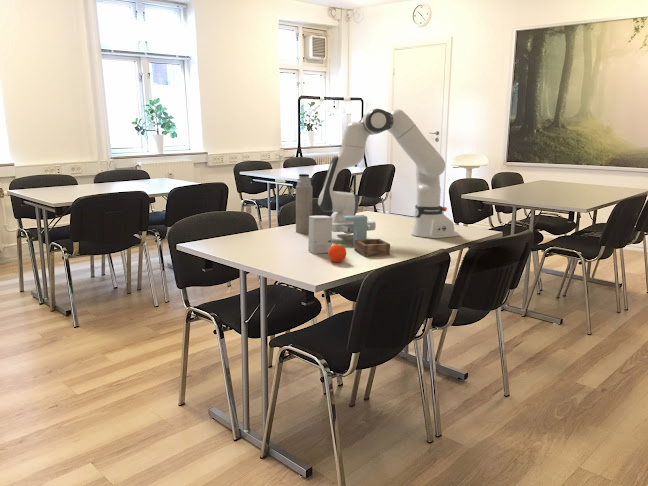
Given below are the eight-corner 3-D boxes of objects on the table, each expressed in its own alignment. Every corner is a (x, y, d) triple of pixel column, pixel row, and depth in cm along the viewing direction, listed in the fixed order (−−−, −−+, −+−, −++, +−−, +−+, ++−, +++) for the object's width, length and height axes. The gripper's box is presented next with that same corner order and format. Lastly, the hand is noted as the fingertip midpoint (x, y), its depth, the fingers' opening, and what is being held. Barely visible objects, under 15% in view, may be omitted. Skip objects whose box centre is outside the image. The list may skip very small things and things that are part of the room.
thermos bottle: (313, 230, 266) (314, 173, 260) (310, 233, 258) (310, 175, 252) (298, 229, 268) (298, 173, 262) (294, 232, 260) (293, 174, 254)
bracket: (362, 244, 235) (363, 215, 233) (366, 246, 231) (367, 216, 229) (342, 245, 233) (342, 215, 230) (345, 247, 228) (346, 217, 226)
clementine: (347, 259, 208) (347, 241, 207) (350, 264, 201) (350, 245, 200) (326, 260, 207) (327, 241, 206) (329, 264, 200) (329, 245, 199)
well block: (379, 249, 226) (379, 238, 225) (389, 255, 216) (390, 244, 215) (354, 250, 223) (354, 240, 222) (364, 256, 213) (364, 245, 212)
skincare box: (313, 254, 216) (313, 217, 213) (307, 251, 222) (307, 215, 218) (332, 252, 219) (332, 216, 216) (326, 249, 225) (326, 214, 222)
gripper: (326, 218, 242) (336, 223, 229) (368, 216, 248) (380, 221, 235) (326, 231, 243) (335, 237, 230) (368, 229, 249) (380, 235, 236)
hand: (358, 229), depth 232 cm, fingers open, 8 cm apart
